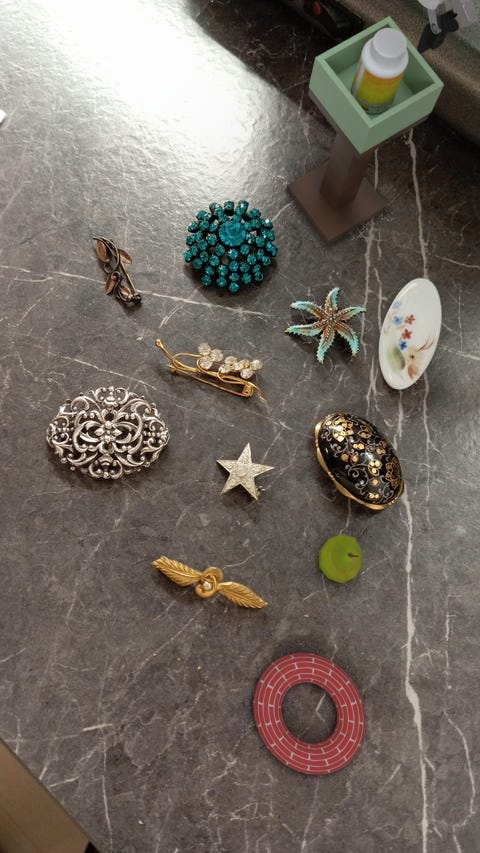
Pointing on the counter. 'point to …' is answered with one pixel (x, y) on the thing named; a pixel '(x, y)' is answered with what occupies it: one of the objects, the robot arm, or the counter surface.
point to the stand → (339, 186)
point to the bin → (359, 126)
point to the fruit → (341, 558)
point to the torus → (279, 738)
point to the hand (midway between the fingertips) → (402, 13)
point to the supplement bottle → (380, 70)
